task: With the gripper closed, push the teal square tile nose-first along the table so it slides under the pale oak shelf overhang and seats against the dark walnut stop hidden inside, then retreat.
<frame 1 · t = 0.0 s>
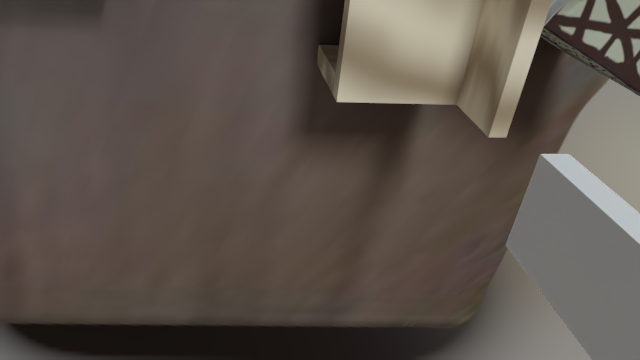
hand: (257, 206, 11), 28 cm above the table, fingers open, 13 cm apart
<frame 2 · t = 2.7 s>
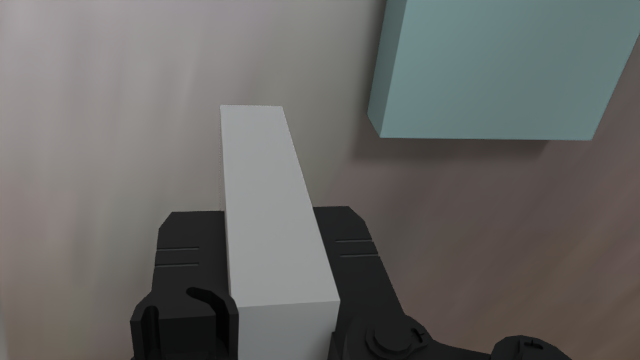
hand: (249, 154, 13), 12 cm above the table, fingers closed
teal square tile: (492, 24, 26), on the table
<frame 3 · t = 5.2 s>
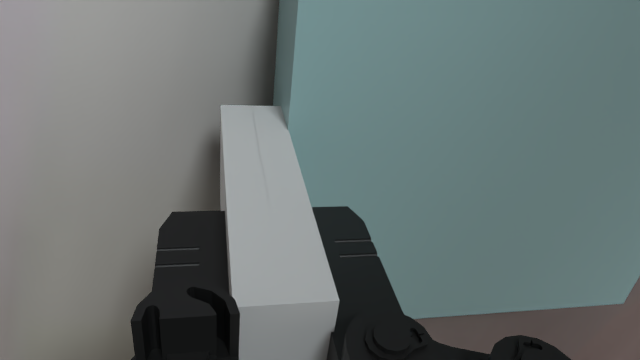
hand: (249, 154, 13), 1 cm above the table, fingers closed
teal square tile: (462, 130, 16), on the table
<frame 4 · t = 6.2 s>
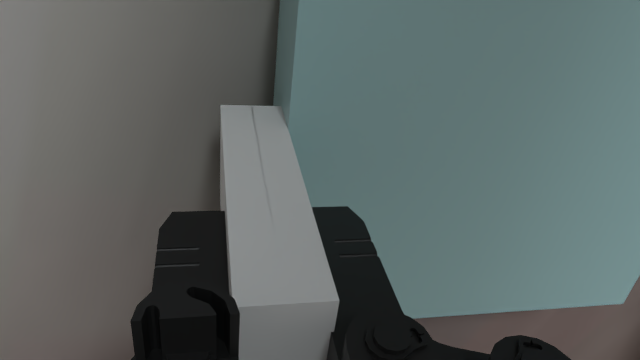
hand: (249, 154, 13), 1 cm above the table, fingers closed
teal square tile: (462, 129, 16), on the table, touching gripper
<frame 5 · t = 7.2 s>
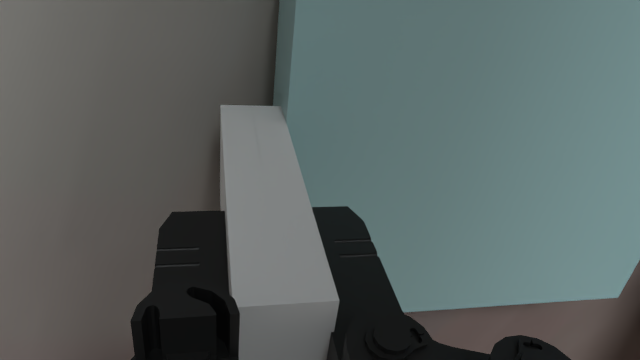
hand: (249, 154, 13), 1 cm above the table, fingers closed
teal square tile: (458, 125, 16), on the table, touching gripper
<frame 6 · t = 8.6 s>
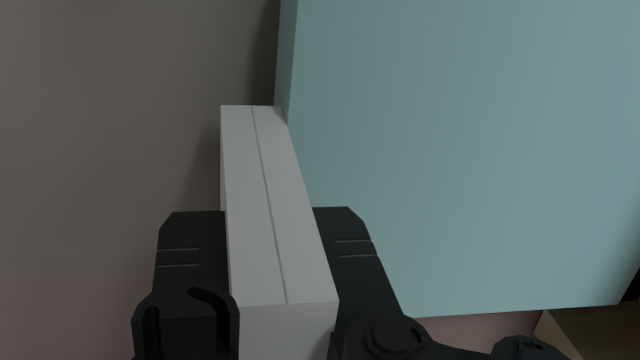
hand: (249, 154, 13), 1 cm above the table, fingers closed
teal square tile: (459, 131, 16), on the table, touching gripper
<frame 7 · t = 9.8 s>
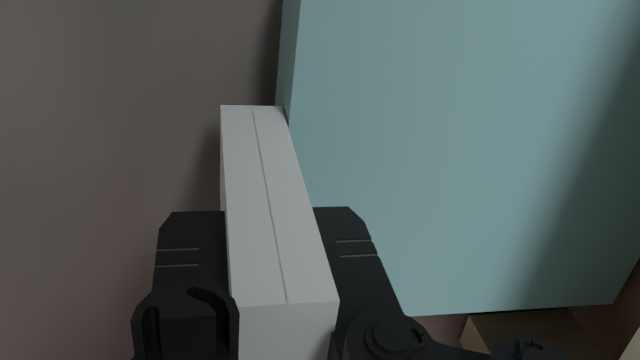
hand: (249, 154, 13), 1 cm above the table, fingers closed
teal square tile: (457, 132, 16), on the table
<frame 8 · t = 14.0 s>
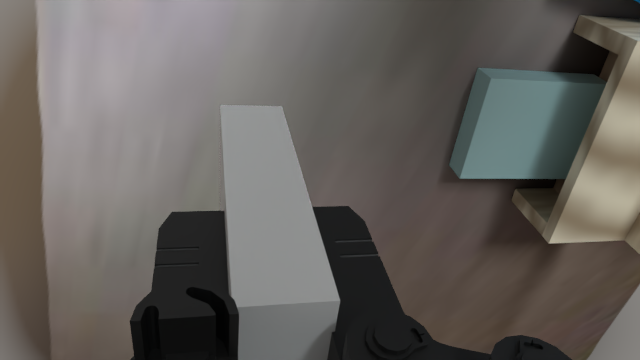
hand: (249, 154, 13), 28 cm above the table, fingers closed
teal square tile: (517, 118, 49), on the table
shelf: (582, 118, 50), on the table
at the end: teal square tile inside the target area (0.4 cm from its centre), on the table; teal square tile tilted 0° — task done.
